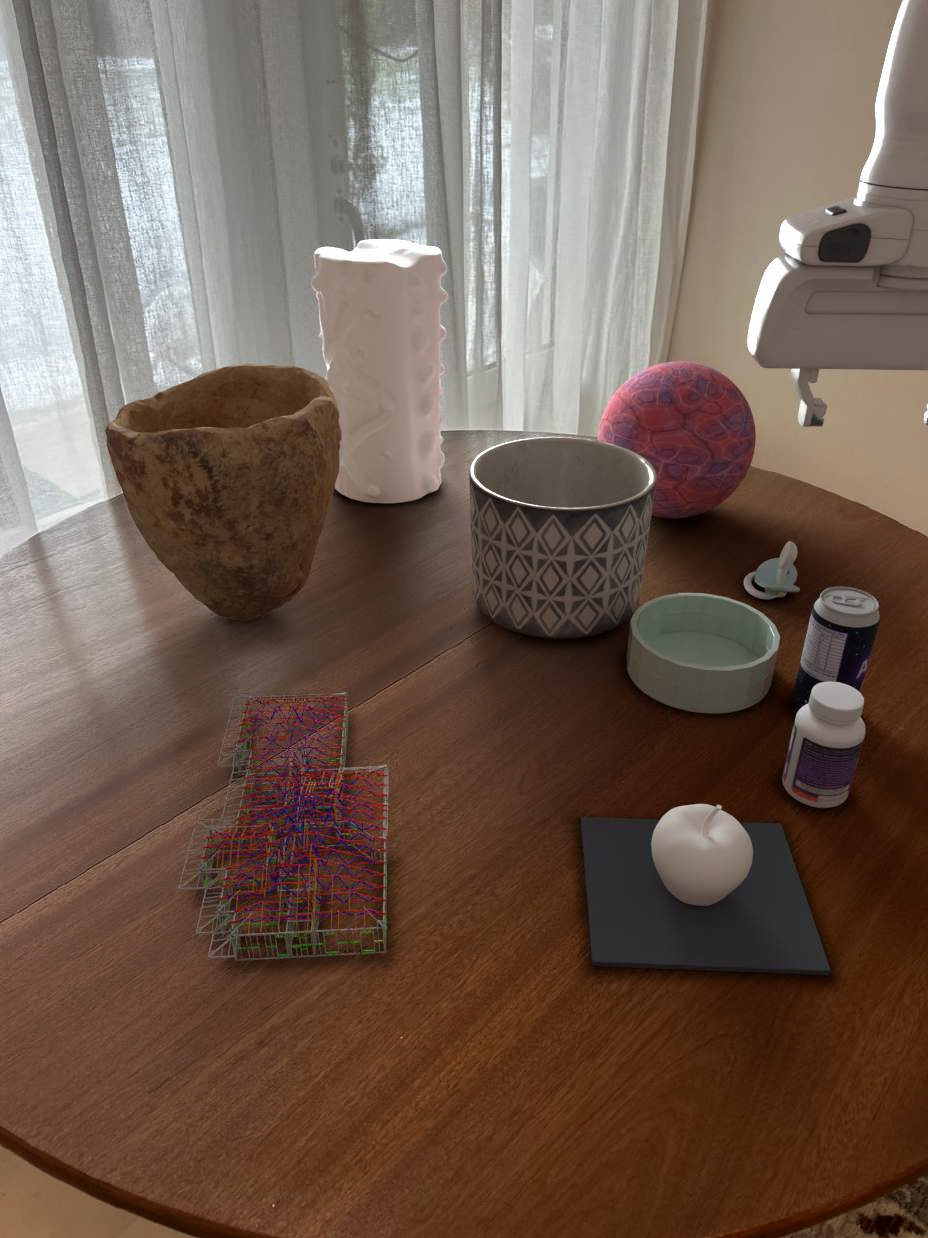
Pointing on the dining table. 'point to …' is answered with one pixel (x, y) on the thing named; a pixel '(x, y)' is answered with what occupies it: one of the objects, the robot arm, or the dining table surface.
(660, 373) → the decorative sphere
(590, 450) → the planter
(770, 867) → the mat
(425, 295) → the vase
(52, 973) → the dining table surface
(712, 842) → the plain white apple
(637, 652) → the fruit bowl
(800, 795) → the pill bottle
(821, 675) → the beverage can
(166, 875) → the dining table surface
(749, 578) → the pacifier
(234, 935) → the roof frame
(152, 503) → the bowl
